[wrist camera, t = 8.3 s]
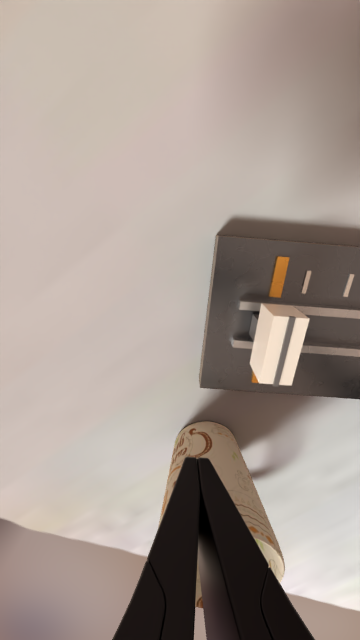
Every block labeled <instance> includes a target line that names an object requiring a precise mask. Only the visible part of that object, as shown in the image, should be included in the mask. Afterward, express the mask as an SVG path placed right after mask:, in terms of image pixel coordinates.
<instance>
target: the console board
mask: <svg viewBox="0 0 360 640" xmlns="http://www.w3.org/2000/svg"><path fill="white" fill-rule="evenodd" d="M261 303H264V304H277V305H290V306H293V307H295V308H296V309H297V310H299V311H300V312H301V313H303V314H304V315H305V316H307V317H308V318H309V323H308V327H307V330H306V334H305V338H304V341H303V345H302V349H301V352H300V356H299V360H298V363H297V367H296V371H295V374H294V378H293V382H292V385H291V386H290V385H279V386H278V387H275V386H273V385H272V384H262V383H259V382H258V380H257V378H256V376H255V374H254V371H253V369H252V367H251V365H250V359H251V354H252V349H253V344H254V341H253V340H252V338H251V336H250V335H249V331H250V326H251V320H252V315H253V314H259V313H260V308H261ZM199 383H200V388H210V389H224V390H238V391H252V392H266V393H281V394H295V395H309V396H323V397H337V398H351V399H360V247H358V246H346V245H333V244H321V243H309V242H296V241H284V240H271V239H259V238H247V237H234V236H222V235H216V239H215V247H214V256H213V264H212V273H211V281H210V289H209V298H208V306H207V314H206V323H205V331H204V340H203V348H202V356H201V365H200V373H199Z"/></svg>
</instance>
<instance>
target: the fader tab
mask: <svg viewBox="0 0 360 640" xmlns="http://www.w3.org/2000/svg"><path fill="white" fill-rule="evenodd" d="M308 323H309V318H308V317H307V316H305V315H304V314H303V313H301V312H300V311H299V310H297V309H296V308H295V307H293V306H290V305H277V304H264V303H261V308H260V313H259V314H253V315H252V320H251V326H250V331H249V335H250V336H251V338H252V340H253V341H254V344H253V349H252V354H251V359H250V365H251V367H252V369H253V371H254V374H255V376H256V378H257V380H258V382H259V383H262V384H272V385H273V386H275V387H278V386H279V385H290V386H291V385H292V382H293V378H294V374H295V371H296V367H297V363H298V360H299V356H300V352H301V349H302V345H303V341H304V338H305V334H306V330H307V327H308Z"/></svg>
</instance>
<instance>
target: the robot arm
mask: <svg viewBox="0 0 360 640" xmlns="http://www.w3.org/2000/svg"><path fill="white" fill-rule="evenodd" d="M197 560H198V565H199V574H200V583H201V592H202V601H203V609H204V619H205V628H206V637H207V640H315V639H314V637H313V636H312V634H311V633H310V631H309V630H308V628H307V627H306V625H305V624H304V622H303V621H302V619H301V618H300V616H299V614H298V613H297V612H296V610H295V608H294V607H293V605H292V603H291V602H290V600H289V598H288V597H287V595H286V593H285V591H284V590H283V588H282V586H281V585H280V583H279V581H278V579H277V578H276V576H275V574H274V572H273V571H272V569H271V568H270V567H269V564H268V562H267V560H266V558H265V557H264V555H263V553H262V551H261V550H260V548H259V546H258V544H257V542H256V541H255V539H254V537H253V535H252V534H251V532H250V530H249V528H248V527H247V525H246V523H245V521H244V519H243V518H242V516H241V514H240V512H239V511H238V509H237V507H236V505H235V503H234V502H233V500H232V498H231V496H230V495H229V493H228V491H227V489H226V488H225V486H224V484H223V482H222V480H221V479H220V477H219V475H218V473H217V472H216V470H215V468H214V466H213V465H212V463H211V461H210V459H209V458H203V457H198V458H196V457H185V459H184V461H183V464H182V467H181V469H180V472H179V475H178V477H177V480H176V483H175V485H174V488H173V491H172V493H171V496H170V499H169V501H168V504H167V507H166V510H165V512H164V515H163V518H162V520H161V523H160V526H159V528H158V531H157V534H156V536H155V539H154V542H153V544H152V547H151V550H150V552H149V555H148V558H147V561H146V563H145V565H144V568H143V571H142V574H141V576H140V579H139V581H138V584H137V587H136V589H135V591H134V594H133V596H132V599H131V601H130V603H129V605H128V608H127V610H126V612H125V614H124V616H123V619H122V620H121V623H120V625H119V627H118V629H117V631H116V633H115V635H114V637H113V639H112V640H194V621H195V601H196V580H197ZM268 567H269V568H268Z"/></svg>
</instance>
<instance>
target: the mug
mask: <svg viewBox="0 0 360 640" xmlns="http://www.w3.org/2000/svg"><path fill="white" fill-rule="evenodd" d="M185 457H196V458H198V457H203V458H209V459H210V461H211V463H212V465H213V466H214V468H215V470H216V472H217V473H218V475H219V477H220V479H221V480H222V482H223V484H224V486H225V488H226V489H227V491H228V493H229V495H230V496H231V498H232V500H233V502H234V503H235V505H236V507H237V509H238V511H239V512H240V514H241V516H242V518H243V519H244V521H245V523H246V525H247V527H248V528H249V530H250V532H251V534H252V535H253V537H254V539H255V541H256V542H257V544H258V546H259V548H260V550H261V551H262V553H263V555H264V557H265V558H266V560H267V562H268V564H269V567H270V568H271V569H272V571H273V572H274V574H275V576H276V578H277V579H278V581H279V583H280V582H281V580H282V578H283V575H284V571H285V565H284V559H283V556H282V552H281V550H280V547H279V544H278V541H277V539H276V537H275V534H274V532H273V529H272V527H271V524H270V522H269V520H268V517H267V515H266V512H265V510H264V507H263V505H262V503H261V500H260V498H259V495H258V493H257V490H256V488H255V486H254V483H253V481H252V478H251V476H250V473H249V471H248V469H247V466H246V464H245V461H244V459H243V456H242V454H241V452H240V449H239V447H238V444H237V442H236V440H235V437H234V436H233V434H232V433H231V431H230V430H229V429H227V428H226V427H225V426H223V425H221V424H218V423H215V422H208V421H203V422H197V423H193V424H191V425H189V426H187V427H185V428H184V429H183V430H182V431H181V432H180V433H179V434H178V436H177V438H176V441H175V445H174V450H173V455H172V460H171V465H170V470H169V475H168V480H167V486H166V491H165V496H164V501H163V506H162V511H161V516H160V521H159V526H160V523H161V520H162V518H163V515H164V512H165V510H166V507H167V504H168V501H169V499H170V496H171V493H172V491H173V488H174V485H175V483H176V480H177V477H178V475H179V472H180V469H181V467H182V464H183V461H184V459H185ZM158 528H159V527H158ZM269 567H268V568H269ZM195 607H199V608H203V601H202V592H201V583H200V574H199V565H198V560H197V580H196V601H195Z"/></svg>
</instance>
